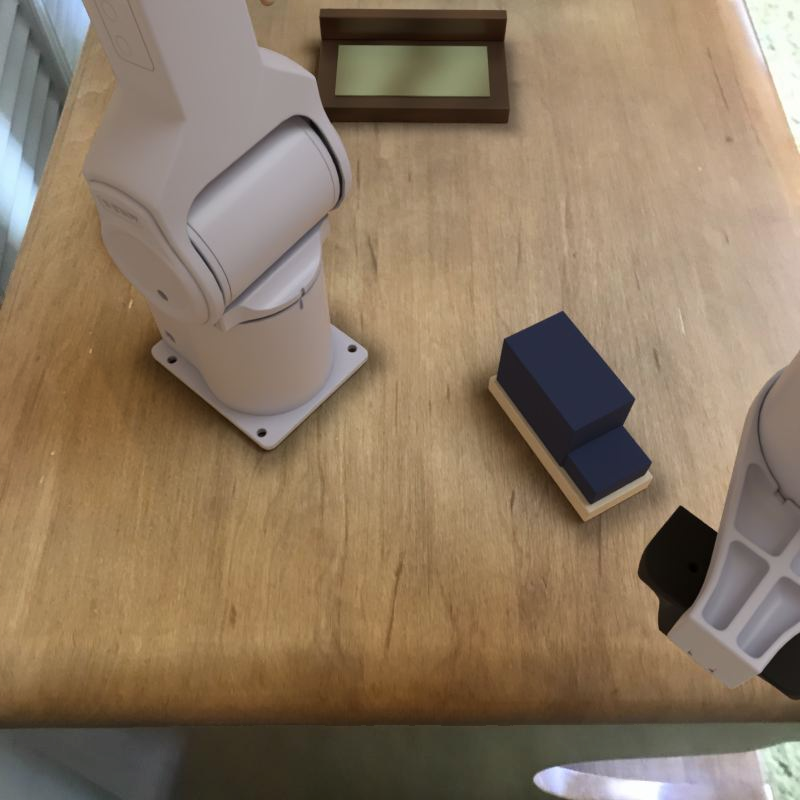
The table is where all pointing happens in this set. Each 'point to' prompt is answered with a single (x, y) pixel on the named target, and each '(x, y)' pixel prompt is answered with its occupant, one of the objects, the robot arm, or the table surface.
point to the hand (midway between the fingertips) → (744, 562)
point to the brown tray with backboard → (413, 65)
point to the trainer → (571, 414)
